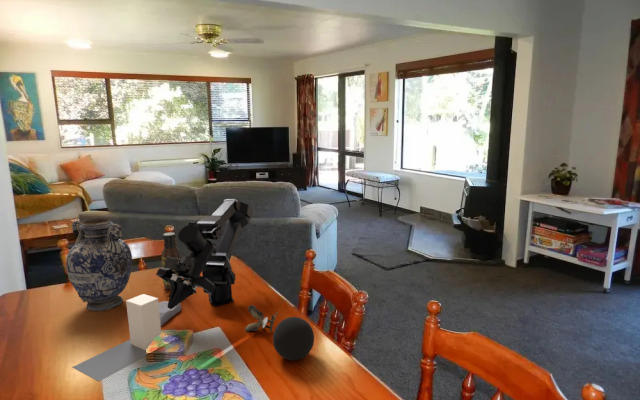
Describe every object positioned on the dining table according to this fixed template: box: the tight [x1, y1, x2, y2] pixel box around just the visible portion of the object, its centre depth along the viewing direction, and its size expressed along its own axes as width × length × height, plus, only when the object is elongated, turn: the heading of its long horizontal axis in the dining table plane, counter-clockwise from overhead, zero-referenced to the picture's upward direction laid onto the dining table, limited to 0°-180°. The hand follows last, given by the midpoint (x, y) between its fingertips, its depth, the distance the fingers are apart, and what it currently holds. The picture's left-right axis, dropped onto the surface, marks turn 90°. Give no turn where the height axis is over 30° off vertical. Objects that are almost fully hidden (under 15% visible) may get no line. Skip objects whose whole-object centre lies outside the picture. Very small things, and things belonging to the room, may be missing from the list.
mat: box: [72, 339, 147, 382], centre depth 103 cm, size 22×11×1 cm, turn 148°
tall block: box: [125, 293, 162, 350], centre depth 107 cm, size 5×6×12 cm
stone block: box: [158, 300, 182, 326], centre depth 123 cm, size 12×5×10 cm
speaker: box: [272, 316, 315, 361], centre depth 100 cm, size 10×10×10 cm
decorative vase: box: [65, 217, 133, 312], centre depth 132 cm, size 21×19×28 cm
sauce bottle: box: [160, 232, 181, 291], centre depth 146 cm, size 6×6×20 cm
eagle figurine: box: [244, 304, 278, 333], centre depth 114 cm, size 8×7×9 cm
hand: (169, 308), depth 113 cm, fingers closed
